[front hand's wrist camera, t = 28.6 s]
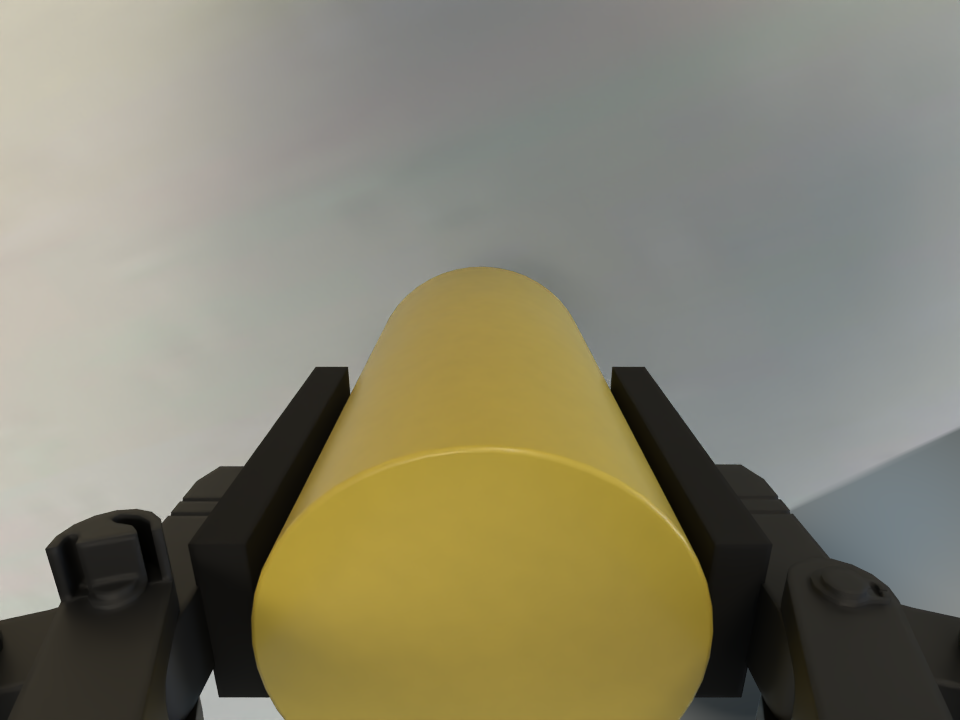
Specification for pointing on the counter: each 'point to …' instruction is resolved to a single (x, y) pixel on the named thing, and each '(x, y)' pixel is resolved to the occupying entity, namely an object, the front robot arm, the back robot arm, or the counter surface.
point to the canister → (481, 534)
